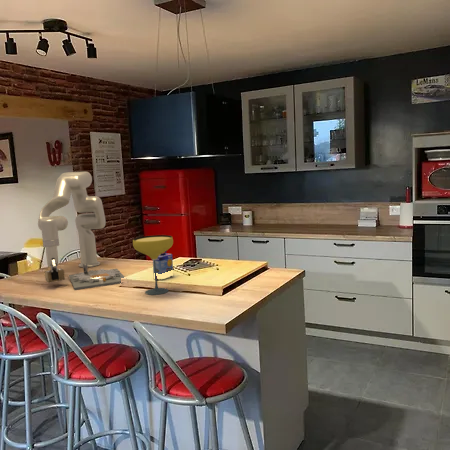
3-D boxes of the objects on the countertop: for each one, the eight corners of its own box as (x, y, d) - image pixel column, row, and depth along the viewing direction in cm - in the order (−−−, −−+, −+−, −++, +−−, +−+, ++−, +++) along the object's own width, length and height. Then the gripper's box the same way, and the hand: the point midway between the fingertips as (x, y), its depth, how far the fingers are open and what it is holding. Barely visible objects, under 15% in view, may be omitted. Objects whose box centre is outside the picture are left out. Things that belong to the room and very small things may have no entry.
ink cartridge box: (161, 280, 237) (159, 252, 235) (153, 279, 240) (151, 252, 238) (174, 276, 245) (172, 249, 243) (166, 275, 248) (164, 248, 246)
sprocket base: (69, 277, 257) (68, 271, 256) (116, 270, 266) (116, 265, 266) (74, 290, 227) (74, 283, 227) (128, 282, 237) (127, 276, 237)
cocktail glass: (133, 290, 222) (129, 237, 218) (171, 284, 228) (167, 233, 225) (141, 299, 205) (136, 243, 202) (181, 293, 211) (177, 238, 208)
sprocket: (63, 280, 242) (61, 268, 241) (96, 270, 263) (95, 259, 262) (97, 284, 230) (96, 271, 230) (130, 273, 251) (129, 261, 250)
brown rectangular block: (45, 280, 237) (44, 270, 236) (61, 277, 242) (60, 267, 241) (48, 282, 233) (47, 272, 232) (64, 279, 238) (63, 269, 237)
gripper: (42, 241, 241) (46, 275, 244) (43, 246, 225) (48, 283, 228) (57, 239, 244) (61, 273, 246) (60, 244, 228) (64, 280, 231)
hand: (55, 277), depth 237 cm, fingers closed on brown rectangular block, 5 cm apart
